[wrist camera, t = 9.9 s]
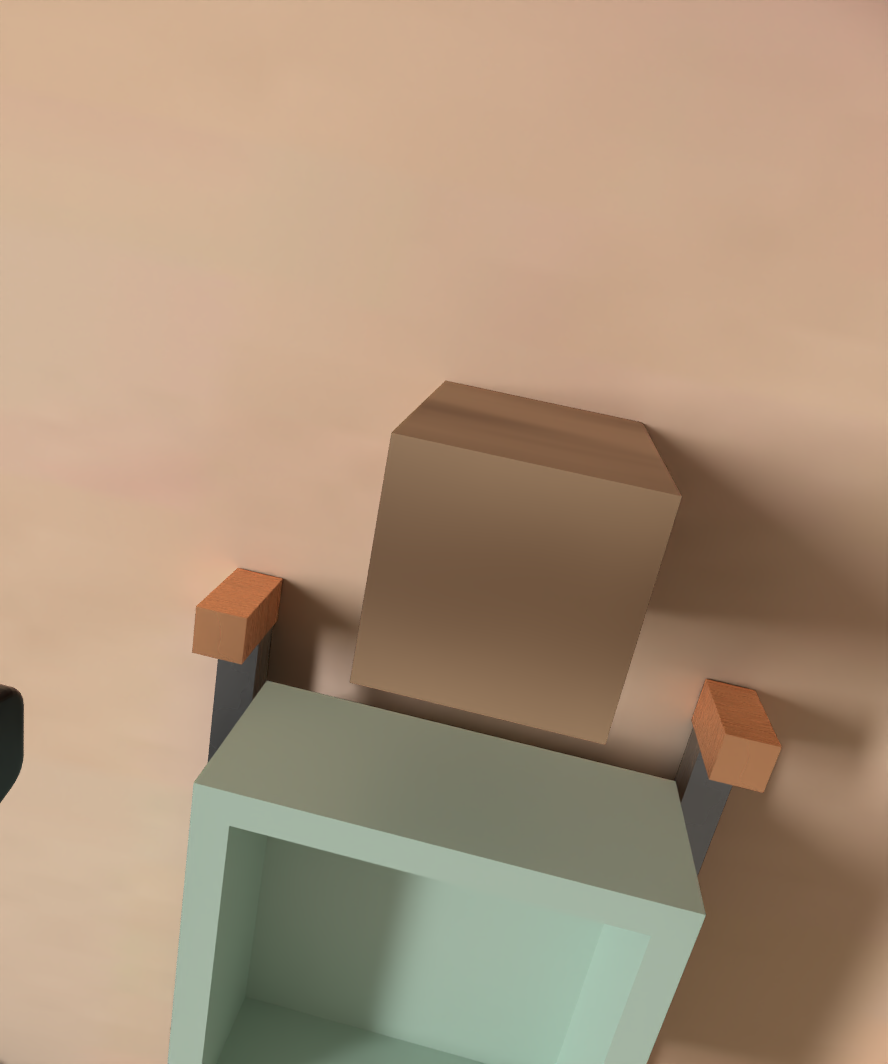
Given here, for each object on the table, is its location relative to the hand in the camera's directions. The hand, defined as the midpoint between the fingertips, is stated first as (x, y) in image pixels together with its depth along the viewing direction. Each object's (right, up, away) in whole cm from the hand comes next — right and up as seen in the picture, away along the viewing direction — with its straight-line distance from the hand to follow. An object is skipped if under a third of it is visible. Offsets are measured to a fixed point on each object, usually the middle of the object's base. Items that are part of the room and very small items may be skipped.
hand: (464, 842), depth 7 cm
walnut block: (+2, +4, +11) cm, 12 cm away
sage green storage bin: (0, -6, +14) cm, 16 cm away
